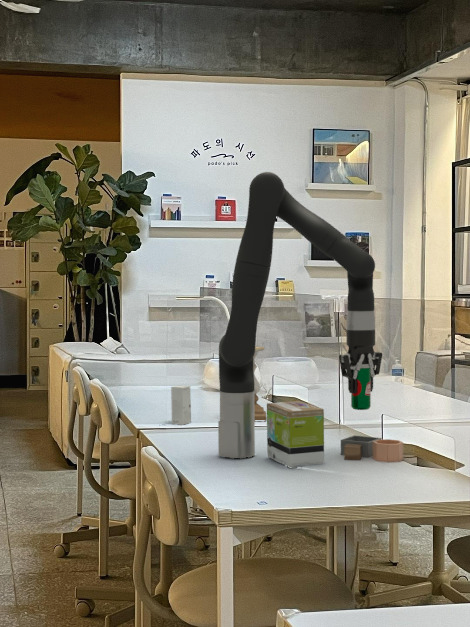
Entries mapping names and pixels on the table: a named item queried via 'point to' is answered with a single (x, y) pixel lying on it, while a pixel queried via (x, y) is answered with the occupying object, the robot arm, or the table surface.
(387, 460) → the bowl
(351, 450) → the walnut block
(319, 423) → the tea box
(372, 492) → the table surface
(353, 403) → the soda can
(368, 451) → the bin
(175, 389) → the skincare box
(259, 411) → the candle holder
